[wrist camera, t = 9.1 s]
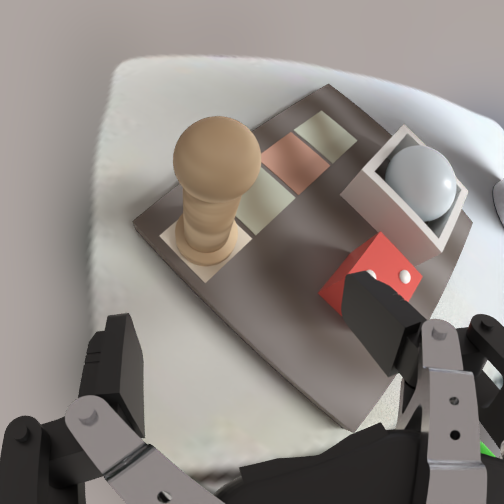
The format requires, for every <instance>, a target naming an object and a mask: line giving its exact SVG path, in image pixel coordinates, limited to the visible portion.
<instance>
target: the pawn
mask: <svg viewBox="0 0 504 504" xmlns="http://www.w3.org/2000/svg"><path fill="white" fill-rule="evenodd" d="M173 166H174V171H175V175H176V177H177V179H178V181H179V183H180V184H181V186H182V187H183V213H182V215H181V216H180V217H179V219H178V221H177V223H176V227H175V238H176V244H177V247H178V250H179V251H180V253H181V254H182V256H183V257H184V258H185V259H186V260H188V261H189V262H191V263H193V264H196V265H199V266H213V265H217V264H219V263H221V262H223V261H224V260H226V259H227V258H228V257H229V256H230V255H231V253H232V251H233V250H234V247H235V245H236V242H237V238H238V228H237V224H236V222H235V220H234V218H235V215H236V212H237V209H238V206H239V203H240V200H241V197H242V195H243V194H244V193H246V192H247V191H248V190H249V189H250V188H251V186H252V185H253V184H254V182H255V181H256V179H257V177H258V174H259V172H260V167H261V150H260V147H259V144H258V141H257V139H256V137H255V136H254V134H253V133H252V132H251V131H250V130H249V129H248V128H247V127H246V126H245V125H244V124H242V123H240V122H239V121H237V120H234V119H232V118H228V117H222V116H215V117H208V118H204V119H201V120H199V121H197V122H195V123H194V124H192V125H191V126H189V127H188V128H187V129H186V130H185V131H184V132H183V134H182V135H181V136H180V138H179V140H178V141H177V144H176V146H175V149H174V154H173Z"/></svg>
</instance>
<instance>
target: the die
mask: <svg viewBox="0 0 504 504" xmlns="http://www.w3.org/2000/svg"><path fill="white" fill-rule="evenodd" d="M360 271H367V272H368V273H369V274H370V275H372V276H373V277H374V278H375V279H376V280H379V281H381V282H383V283H385V284H387V285H389V286H391V287H392V288H393V289H394V290H395V291H396V292H397V293H398V295H399V294H400V295H401V296H402V297H403V298H404V300H406V301H407V302H409V300H410V298H411V297H412V295H413V293H414V291H415V290H416V288H417V286H418V284H419V283H420V281H421V279H422V277H423V276H422V275H421V274H420V273H419V272H418V271H417V270H416V268H415V267H414V266H413V265H412V264H411V263H410V262H409V261H408V260H407V259H406V257H405V256H404V255H403V254H402V253H401V252H400V251H399V250H398V249H397V248H396V247H395V246H394V245H393V244H392V243H391V242H390V240H389V239H388V238H387V237H386V236H385V235H384V234H383V233H382V232H381V231H380V232H378V233H377V234H376V235H374V236H373V237H372V238H370V239H369V240H368V241H366V242H365V243H363V244H362V245H361V246H359V247H358V248H356V249H355V250H354V251H352V252H351V253H350V254H349V255H348V257H347V258H346V259H345V260H344V262H343V263H342V264H341V265H340V267H339V268H338V269H337V270H336V271H335V273H334V274H333V275H332V276H331V278H330V279H329V280H328V281H327V282H326V284H325V285H324V286H323V287H322V288H321V290H320V291H319V292H318V294H319V295H320V296H321V297H322V298H323V299H324V300H325V301H326V302H327V303H328V304H329V305H330V306H331V307H333V308H334V309H335V310H336V311H337V312H338V313H339V314H340V315H341V316H342V313H341V305H342V297H343V290H344V282H345V277H346V275H347V274H351V273H356V272H360Z"/></svg>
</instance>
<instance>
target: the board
mask: <svg viewBox="0 0 504 504" xmlns="http://www.w3.org/2000/svg"><path fill="white" fill-rule="evenodd" d="M252 133H253V134H254V136H255V137H256V139H257V141H258V144H259V147H260V150H261V167H260V172H259V174H258V177H257V179H256V181H255V182H254V184H253V185H252V186H251V188H250V189H249V190H248V191H247V192H246V193H244V194H243V195H242V197H241V200H240V203H239V206H238V209H237V212H236V215H235V218H234V220H235V222H236V224H237V228H238V238H237V242H236V245H235V247H234V250H233V251H232V253H231V255H230V256H229V257H228V258H227V259H226V260H224V261H223V262H221V263H219V264H217V265H213V266H199V265H196V264H193V263H191V262H189V261H188V260H186V259H185V258H184V257H183V256H182V254H181V253H180V251H179V250H178V247H177V244H176V238H175V227H176V223H177V221H178V219H179V217H180V216H181V215H182V213H183V187H182V186H181V184H178V185H177V186H176V187H174V188H173V189H172V190H171V191H169V192H168V193H167V194H166V195H164V196H163V197H162V198H161V199H159V200H158V201H157V202H156V203H154V204H153V205H152V206H151V207H149V208H148V209H147V210H146V211H145V212H143V213H142V214H141V215H140V216H138V217H137V218H136V219H135V220H134V221H133V224H134V226H135V229H136V230H137V231H138V233H139V234H140V235H141V236H142V237H143V238H144V239H145V240H146V241H147V242H148V244H149V245H150V246H151V247H152V248H153V249H154V250H155V251H156V252H157V253H158V254H159V255H160V257H161V258H162V259H163V260H164V261H165V262H166V263H167V264H168V265H169V266H170V267H171V268H172V269H173V270H174V271H175V272H176V273H177V274H178V276H179V277H180V278H181V279H182V280H183V281H184V282H185V283H186V284H187V285H188V286H189V287H190V288H191V289H192V290H193V291H194V292H195V293H196V294H197V295H198V296H199V297H200V298H201V299H202V300H203V301H204V302H205V303H206V304H207V305H208V306H209V307H210V308H211V309H212V310H213V311H214V312H215V313H216V314H217V315H218V316H219V317H220V318H221V319H222V320H223V321H224V322H225V323H226V324H227V325H228V326H229V327H230V328H231V329H232V330H233V331H234V332H236V333H237V334H238V335H239V336H240V337H241V338H242V339H243V340H244V341H245V342H246V343H247V344H248V345H249V346H250V347H251V348H252V349H254V350H255V351H256V352H257V353H258V354H259V355H260V356H261V357H262V358H263V359H264V360H265V361H266V362H268V363H269V364H270V365H271V366H272V367H273V368H274V369H275V370H276V371H277V372H279V373H280V374H281V375H282V376H283V377H284V378H285V379H286V380H288V381H289V382H290V383H291V384H292V385H293V386H294V387H295V388H297V389H298V390H299V391H300V392H301V393H302V394H303V395H305V396H306V397H307V398H308V399H309V400H310V401H312V402H313V403H314V404H315V405H316V406H317V407H319V408H320V409H321V410H322V411H323V412H325V413H326V414H327V415H328V416H329V417H331V418H332V419H333V420H334V421H335V422H337V423H338V424H339V425H340V426H342V427H343V428H344V429H346V430H348V431H351V432H353V433H354V432H355V431H356V430H357V428H358V427H359V426H360V425H361V423H362V422H363V421H364V419H365V418H366V417H367V415H368V414H369V413H370V411H371V410H372V409H373V407H374V406H375V405H376V403H377V402H378V401H379V399H380V398H381V396H382V395H383V393H384V392H385V391H386V389H387V388H388V386H389V385H390V383H391V382H392V380H393V379H394V377H395V376H396V374H395V375H393V376H390V377H387V375H386V374H385V373H384V372H383V370H382V369H381V368H380V366H379V365H378V364H377V362H376V361H375V360H374V359H373V357H372V356H371V355H370V353H369V352H368V351H367V350H366V348H365V347H364V346H363V345H362V343H361V342H360V341H359V339H358V338H357V337H356V336H355V334H354V333H353V332H352V331H351V329H350V328H349V327H348V326H347V324H346V323H345V321H344V320H343V317H342V316H341V315H340V314H339V313H338V312H337V311H336V310H335V309H334V308H333V307H331V306H330V305H329V304H328V303H327V302H326V301H325V300H324V299H323V298H322V297H321V296H320V295H319V294H318V292H319V291H320V290H321V288H322V287H323V286H324V285H325V284H326V282H327V281H328V280H329V279H330V278H331V276H332V275H333V274H334V273H335V271H336V270H337V269H338V268H339V267H340V265H341V264H342V263H343V262H344V260H345V259H346V258H347V257H348V255H349V254H350V253H351V252H352V251H354V250H355V249H356V248H358V247H359V246H361V245H362V244H363V243H365V242H366V241H368V240H369V239H370V238H372V237H373V236H374V235H376V234H377V233H378V232H377V231H376V230H375V229H374V228H373V227H372V226H371V225H370V224H369V223H368V222H367V221H366V220H365V219H364V218H363V217H362V216H361V215H360V214H359V213H358V212H357V211H356V210H355V209H354V208H353V207H352V206H351V205H350V204H349V203H348V202H347V201H346V200H344V199H343V198H342V197H341V196H340V194H341V193H342V192H343V190H344V189H345V188H346V187H347V186H348V185H349V184H350V182H351V181H352V180H353V179H354V178H355V177H356V175H357V174H358V173H359V172H360V171H361V170H362V168H363V167H364V166H365V165H366V164H367V163H368V162H369V161H370V160H371V159H372V158H373V157H374V156H375V155H376V153H377V152H378V151H379V150H380V149H381V148H382V147H383V146H384V145H385V144H386V143H387V142H388V141H389V139H390V138H391V137H392V136H391V135H390V134H389V133H388V132H387V131H386V130H385V129H384V128H382V127H381V126H380V125H379V124H378V123H377V122H376V121H374V120H373V119H372V118H371V117H370V116H369V115H367V114H366V113H365V112H364V111H363V110H361V109H360V108H359V107H358V106H357V105H355V104H354V103H353V102H352V101H350V100H349V99H348V98H347V97H345V96H344V95H343V94H341V93H340V92H339V91H338V90H336V89H335V88H334V87H332V86H331V85H330V84H327V85H325V86H324V87H322V88H320V89H319V90H317V91H315V92H314V93H312V94H310V95H308V96H307V97H305V98H304V99H302V100H300V101H299V102H297V103H295V104H294V105H292V106H290V107H289V108H287V109H286V110H284V111H283V112H281V113H279V114H278V115H276V116H275V117H273V118H272V119H270V120H268V121H267V122H265V123H264V124H262V125H261V126H259V127H258V128H256V129H255V130H253V131H252ZM389 163H390V160H389V159H388V158H386V159H385V160H384V161H383V162H382V163H381V165H380V166H379V167H378V168H377V169H376V170H375V171H374V172H375V173H376V174H378V175H379V176H380V177H381V178H382V179H383V180H384V181H385V173H386V170H387V167H388V164H389ZM424 223H425V224H426V225H427V224H428V223H429V221H426V222H424ZM472 223H473V222H472V221H471V220H470V219H469V217H468V216H467V215H466V214H465V212H464V211H463V210H462V209H461V212H460V214H459V216H458V219H457V221H456V223H455V226H454V228H453V230H452V232H451V235H450V237H449V239H448V241H447V243H446V245H445V247H444V250H443V252H442V253H441V254H439V255H437V256H435V257H433V258H431V259H429V260H427V261H425V262H423V263H421V264H419V265H417V266H415V268H416V270H417V271H418V272H419V273H420V274H421V275H422V276H423V277H422V279H421V281H420V283H419V284H418V286H417V288H416V290H415V291H414V293H413V295H412V297H411V298H410V300H409V302H408V303H409V304H411V305H412V306H413V307H414V308H415V309H416V310H417V311H418V312H419V313H420V314H421V315H422V316H424V317H425V318H426V319H427V320H429V319H430V317H431V315H432V313H433V311H434V309H435V307H436V305H437V304H438V302H439V300H440V298H441V296H442V294H443V291H444V289H445V287H446V285H447V283H448V281H449V279H450V277H451V275H452V272H453V270H454V268H455V266H456V263H457V261H458V259H459V256H460V254H461V252H462V249H463V247H464V244H465V242H466V239H467V237H468V234H469V231H470V229H471V226H472Z"/></svg>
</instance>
